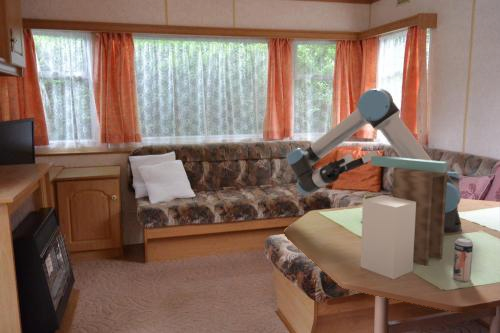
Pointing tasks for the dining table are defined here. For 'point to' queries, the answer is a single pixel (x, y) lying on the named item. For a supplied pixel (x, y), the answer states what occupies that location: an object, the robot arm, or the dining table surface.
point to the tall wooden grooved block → (424, 209)
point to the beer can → (462, 259)
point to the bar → (409, 163)
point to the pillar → (388, 235)
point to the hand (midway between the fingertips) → (364, 155)
